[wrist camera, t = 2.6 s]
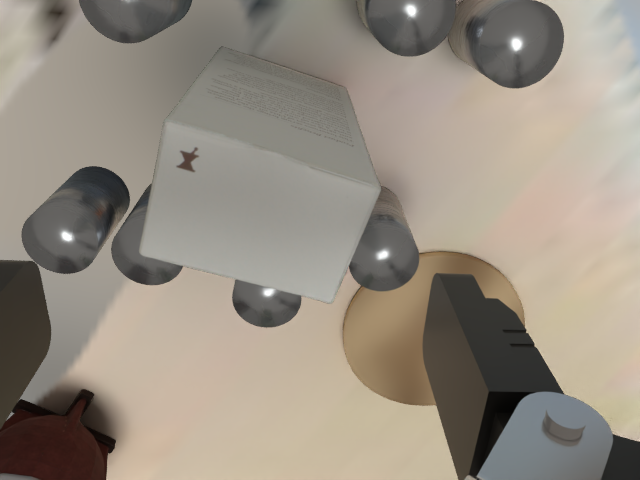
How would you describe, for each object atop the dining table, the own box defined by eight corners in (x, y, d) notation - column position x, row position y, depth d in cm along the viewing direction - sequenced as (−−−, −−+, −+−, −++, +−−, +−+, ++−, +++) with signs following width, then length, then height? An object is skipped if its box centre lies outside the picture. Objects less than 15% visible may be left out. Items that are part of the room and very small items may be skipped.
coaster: (538, 254, 30) (543, 260, 29) (502, 400, 34) (505, 407, 34) (349, 248, 30) (350, 254, 29) (337, 396, 34) (338, 403, 34)
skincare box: (198, 134, 27) (129, 256, 16) (221, 43, 25) (159, 112, 14) (321, 172, 28) (334, 310, 17) (351, 87, 26) (386, 182, 15)
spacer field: (538, -88, 23) (596, -98, 18) (468, 277, 31) (496, 332, 26) (16, -119, 22) (-57, -138, 17) (78, 266, 30) (39, 321, 25)
